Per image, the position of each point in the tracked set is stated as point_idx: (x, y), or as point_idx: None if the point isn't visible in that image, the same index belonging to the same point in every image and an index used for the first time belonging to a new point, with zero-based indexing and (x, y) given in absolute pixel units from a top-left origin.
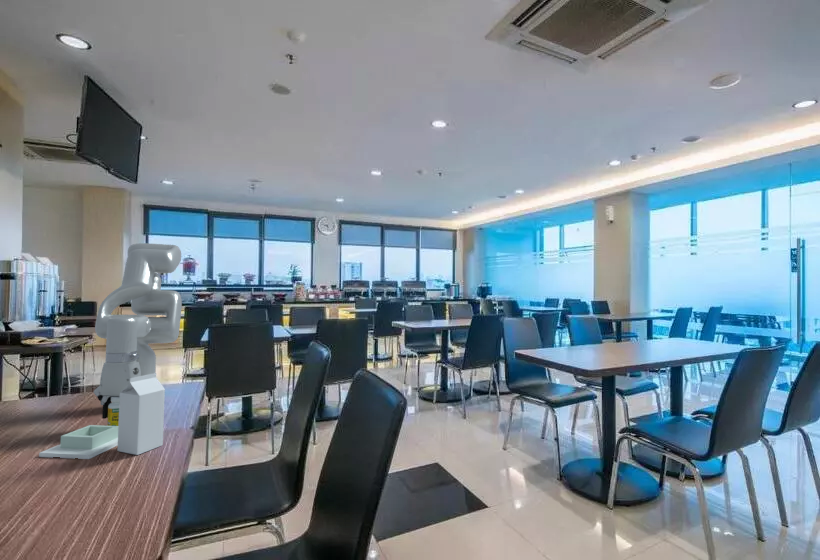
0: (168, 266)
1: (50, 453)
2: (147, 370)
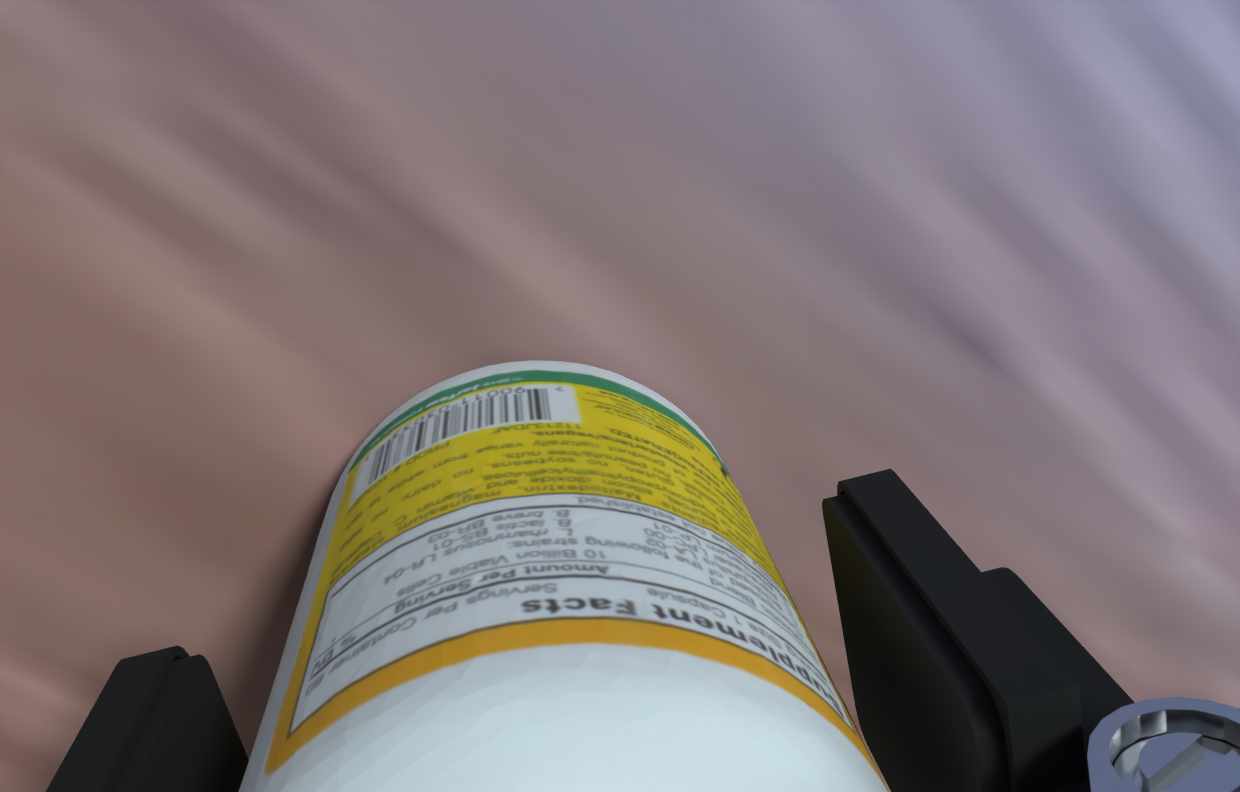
0: None
1: None
2: None
